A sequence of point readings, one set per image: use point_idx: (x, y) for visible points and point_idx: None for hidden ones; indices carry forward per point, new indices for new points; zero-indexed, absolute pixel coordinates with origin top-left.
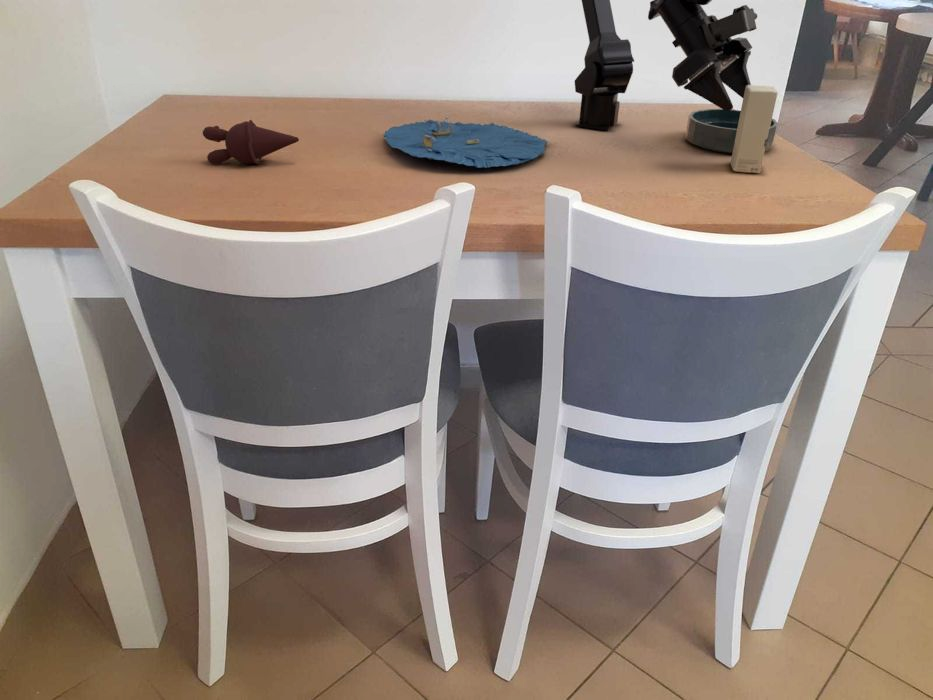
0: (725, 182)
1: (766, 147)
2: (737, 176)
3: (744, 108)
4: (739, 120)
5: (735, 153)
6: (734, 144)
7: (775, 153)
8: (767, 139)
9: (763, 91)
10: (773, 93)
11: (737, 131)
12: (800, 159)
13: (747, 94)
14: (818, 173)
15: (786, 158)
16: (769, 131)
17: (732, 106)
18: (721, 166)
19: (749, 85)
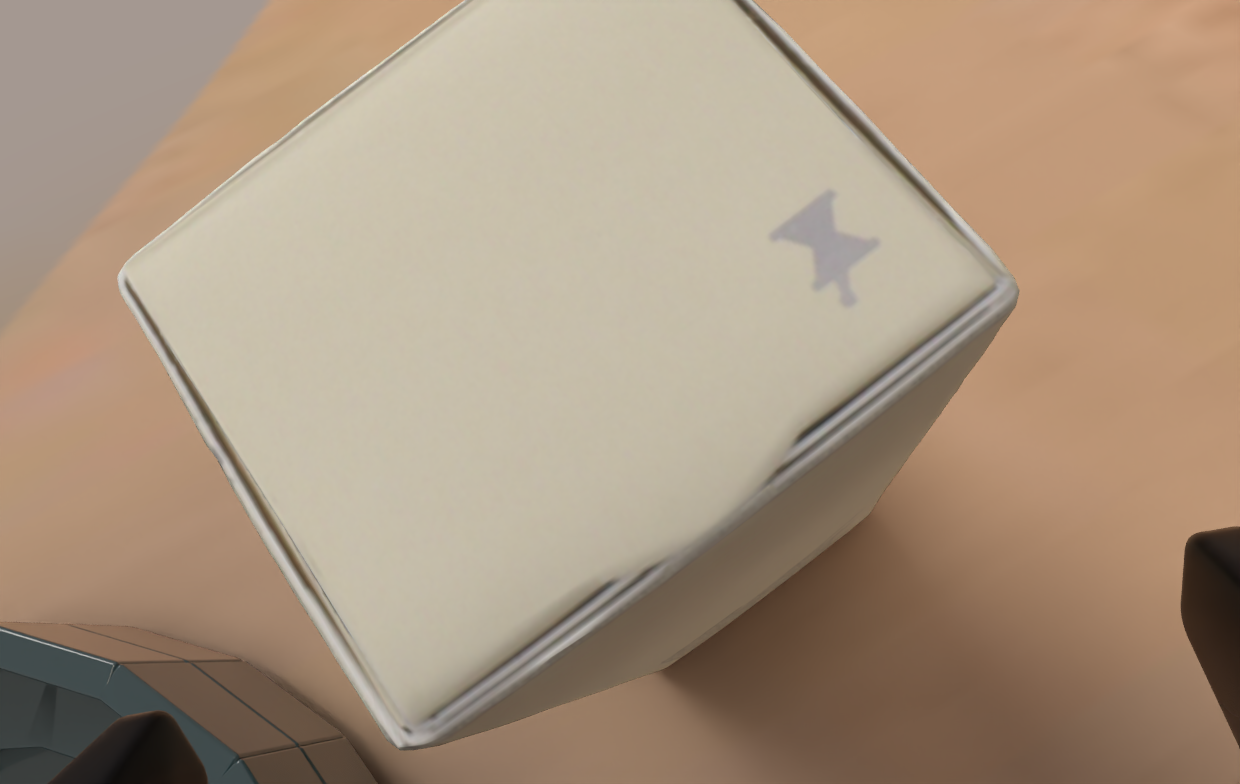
0: (1185, 398)
1: (102, 625)
2: (938, 427)
3: (866, 473)
4: (674, 640)
5: (829, 539)
6: (674, 655)
7: (49, 580)
8: (65, 625)
9: (805, 80)
10: None
11: (692, 634)
12: (74, 357)
13: (876, 432)
14: (330, 93)
15: (126, 442)
16: (6, 622)
17: (1233, 533)
18: (796, 685)
19: (461, 632)
